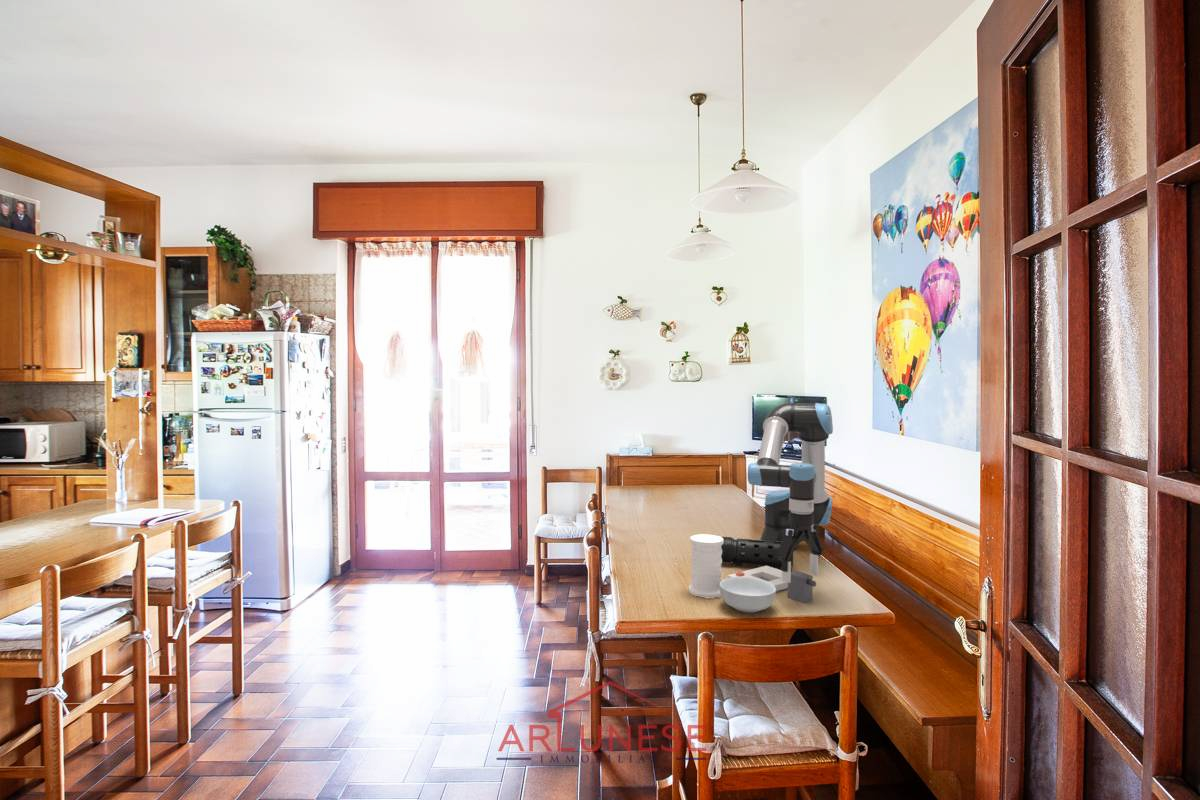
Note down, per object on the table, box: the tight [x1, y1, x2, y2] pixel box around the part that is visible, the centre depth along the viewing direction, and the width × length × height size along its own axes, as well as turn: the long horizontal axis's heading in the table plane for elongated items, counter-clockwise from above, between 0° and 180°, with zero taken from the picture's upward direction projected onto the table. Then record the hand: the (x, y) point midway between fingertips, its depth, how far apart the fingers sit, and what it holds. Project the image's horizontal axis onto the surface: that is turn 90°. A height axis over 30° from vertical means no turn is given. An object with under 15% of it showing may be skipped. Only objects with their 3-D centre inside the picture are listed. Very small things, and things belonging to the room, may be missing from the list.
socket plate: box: [727, 566, 788, 594], centre depth 208 cm, size 20×16×3 cm
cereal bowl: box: [720, 577, 777, 614], centre depth 186 cm, size 17×17×7 cm
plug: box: [787, 570, 817, 604], centre depth 193 cm, size 8×4×8 cm, turn 34°
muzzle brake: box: [721, 536, 794, 569], centre depth 228 cm, size 10×28×10 cm, turn 76°
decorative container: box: [688, 533, 724, 599], centre depth 199 cm, size 12×12×18 cm
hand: (800, 577), depth 193 cm, fingers open, 13 cm apart
